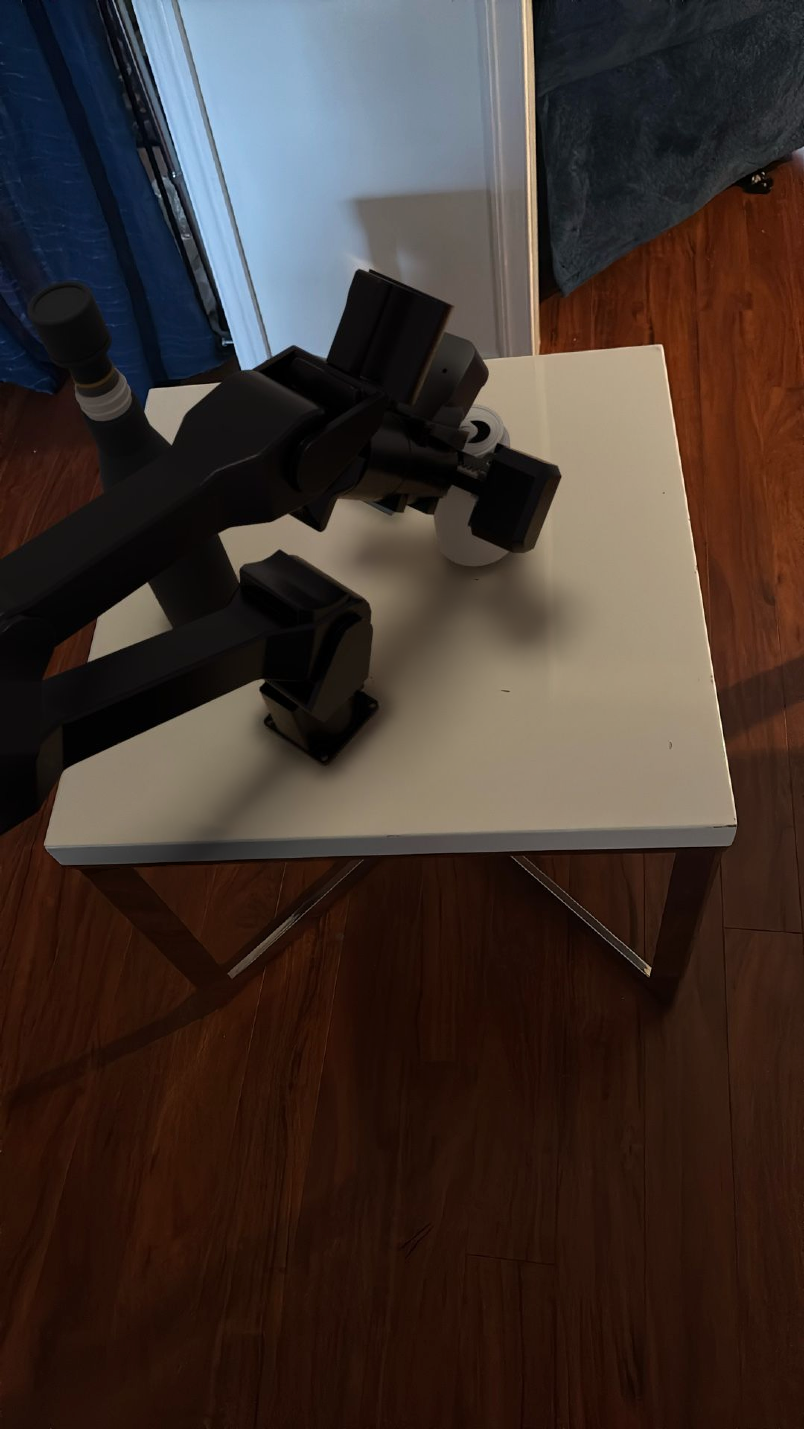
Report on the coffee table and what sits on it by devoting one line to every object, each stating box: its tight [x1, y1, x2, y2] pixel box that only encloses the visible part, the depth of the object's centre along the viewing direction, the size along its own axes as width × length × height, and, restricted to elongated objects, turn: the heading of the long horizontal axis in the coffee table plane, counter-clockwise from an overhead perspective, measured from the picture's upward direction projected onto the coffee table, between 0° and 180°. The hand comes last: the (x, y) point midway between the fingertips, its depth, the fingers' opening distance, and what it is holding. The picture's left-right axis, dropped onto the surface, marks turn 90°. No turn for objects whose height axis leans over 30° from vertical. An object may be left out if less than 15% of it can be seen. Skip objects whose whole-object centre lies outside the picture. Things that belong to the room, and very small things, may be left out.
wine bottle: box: [26, 280, 240, 629], centre depth 72 cm, size 6×6×30 cm
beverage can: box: [432, 403, 512, 567], centre depth 80 cm, size 6×6×12 cm
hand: (480, 472), depth 80 cm, fingers closed on beverage can, 6 cm apart
